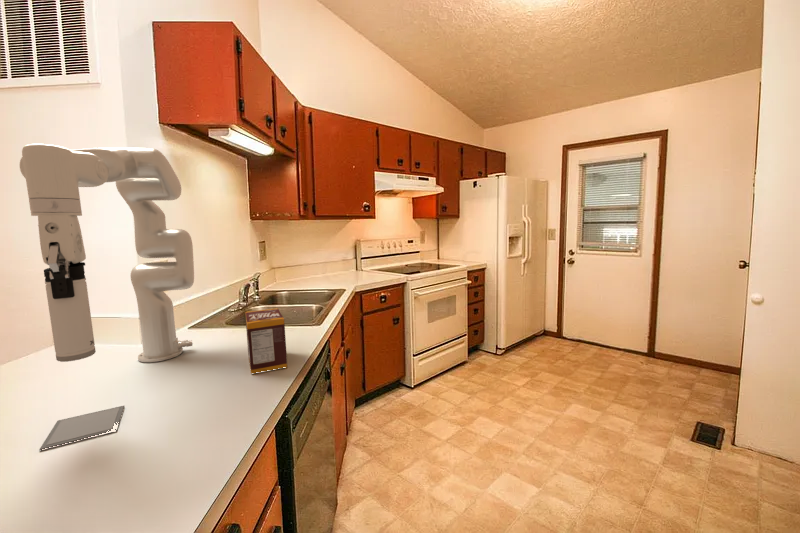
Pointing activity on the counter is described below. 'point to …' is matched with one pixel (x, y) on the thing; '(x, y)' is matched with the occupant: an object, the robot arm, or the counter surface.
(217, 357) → the counter surface
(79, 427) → the mat
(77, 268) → the travel mug
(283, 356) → the supplement box
